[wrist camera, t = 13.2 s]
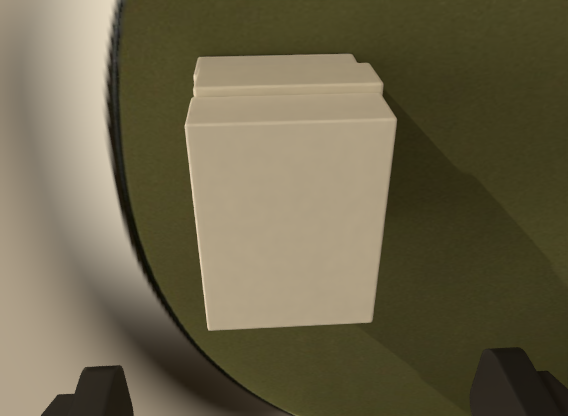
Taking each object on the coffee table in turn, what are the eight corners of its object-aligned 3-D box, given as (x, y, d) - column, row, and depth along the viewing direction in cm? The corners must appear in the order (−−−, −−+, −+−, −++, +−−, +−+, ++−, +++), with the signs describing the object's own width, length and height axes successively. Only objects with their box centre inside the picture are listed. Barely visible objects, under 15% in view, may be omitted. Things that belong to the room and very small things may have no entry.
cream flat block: (190, 96, 16) (183, 124, 14) (380, 91, 16) (398, 118, 15) (210, 290, 20) (207, 331, 19) (361, 283, 21) (372, 323, 19)
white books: (197, 48, 20) (186, 87, 16) (358, 45, 20) (384, 83, 16) (213, 227, 24) (208, 291, 20) (345, 222, 24) (363, 283, 21)
